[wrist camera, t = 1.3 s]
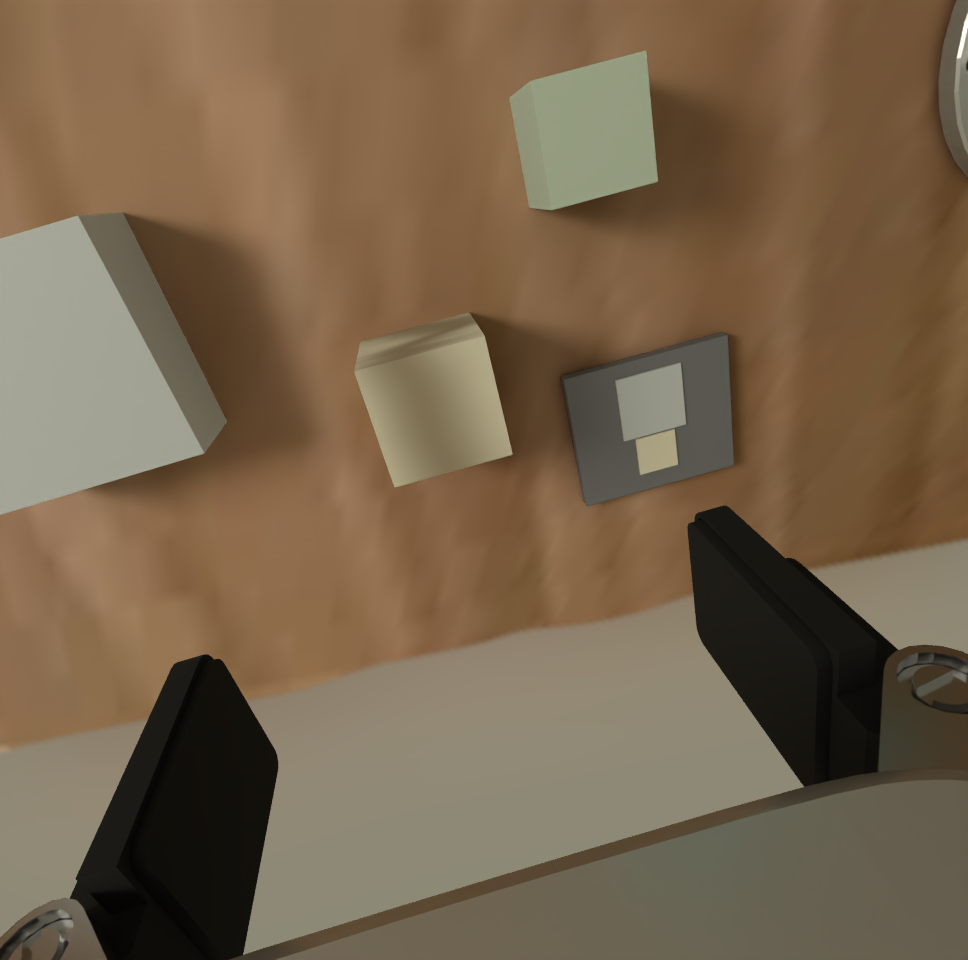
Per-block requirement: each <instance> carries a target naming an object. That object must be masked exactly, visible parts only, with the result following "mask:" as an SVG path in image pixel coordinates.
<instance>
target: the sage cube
mask: <svg viewBox="0 0 968 960" xmlns="http://www.w3.org/2000/svg"><path fill="white" fill-rule="evenodd" d="M509 99H510V104H511V110H512V115H513V121H514V126H515V132H516V137H517V143H518V148H519V153H520V159H521V164H522V170H523V175H524V181H525V186H526V192H527V197H528V203H529V208H536V209H545V210H555V209H558V208H562V207H566V206H570V205H573V204H577V203H581V202H584V201H588V200H592V199H596V198H599V197H603V196H607V195H610V194H614V193H618V192H622V191H625V190H629V189H633V188H636V187H640V186H644V185H647V184H651V183H655V182H658V176H657V165H656V154H655V143H654V132H653V121H652V110H651V99H650V88H649V77H648V66H647V55H646V51H642V52H638V53H635V54H631V55H627V56H623V57H620V58H616V59H612V60H608V61H604V62H601V63H597V64H593V65H589V66H586V67H582V68H578V69H574V70H570V71H567V72H563V73H559V74H555V75H552V76H548V77H544V78H540V79H536V80H533V81H530V82H529V83H527V84H526V85H525V86H524V87H522V88H521V89H520V90H519V91H517V92H516V93H515V94H514V95H512V96H511V97H510V98H509Z"/></svg>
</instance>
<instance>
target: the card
mask: <svg viewBox="0 0 968 960" xmlns="http://www.w3.org/2000/svg"><path fill="white" fill-rule="evenodd" d="M561 381H562V387H563V392H564V398H565V403H566V408H567V414H568V419H569V425H570V430H571V436H572V441H573V447H574V452H575V458H576V463H577V469H578V474H579V479H580V485H581V490H582V496H583V501H584V503H585V504H586V506H590V505H593V504H597V503H600V502H604V501H608V500H611V499H615V498H618V497H622V496H625V495H629V494H633V493H636V492H640V491H643V490H647V489H650V488H654V487H658V486H661V485H665V484H668V483H672V482H675V481H679V480H683V479H686V478H690V477H693V476H697V475H700V474H704V473H708V472H711V471H715V470H718V469H722V468H725V467H729V466H733V465H734V458H733V437H732V416H731V395H730V373H729V352H728V335H727V334H725V333H722V332H720V333H716V334H713V335H709V336H705V337H702V338H698V339H695V340H691V341H687V342H684V343H680V344H676V345H673V346H669V347H666V348H662V349H658V350H655V351H651V352H647V353H644V354H640V355H636V356H633V357H629V358H626V359H622V360H618V361H615V362H611V363H607V364H604V365H600V366H596V367H593V368H589V369H586V370H582V371H578V372H575V373H571V374H567V375H564V376H561Z"/></svg>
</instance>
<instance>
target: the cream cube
mask: <svg viewBox="0 0 968 960" xmlns="http://www.w3.org/2000/svg"><path fill="white" fill-rule="evenodd" d="M354 372H355V375H356V378H357V381H358V384H359V387H360V390H361V392H362V395H363V398H364V401H365V404H366V407H367V410H368V413H369V415H370V418H371V421H372V424H373V427H374V430H375V433H376V436H377V438H378V441H379V444H380V447H381V450H382V453H383V456H384V458H385V461H386V464H387V467H388V470H389V473H390V476H391V479H392V481H393V484H394V487H398V486H402V485H405V484H409V483H412V482H416V481H420V480H423V479H427V478H430V477H434V476H438V475H441V474H445V473H448V472H452V471H456V470H459V469H463V468H466V467H470V466H474V465H477V464H481V463H484V462H488V461H492V460H495V459H499V458H502V457H506V456H510V455H513V454H512V449H511V445H510V441H509V437H508V432H507V428H506V424H505V420H504V416H503V411H502V407H501V403H500V399H499V394H498V390H497V386H496V382H495V378H494V373H493V369H492V365H491V361H490V357H489V352H488V348H487V344H486V340H485V336H484V334H483V333H482V331H481V330H480V328H479V326H478V325H477V323H476V322H475V320H474V319H473V317H472V316H471V314H470V313H469V312H468V313H465V314H461V315H457V316H454V317H450V318H446V319H443V320H439V321H435V322H432V323H428V324H424V325H421V326H417V327H413V328H409V329H406V330H402V331H398V332H395V333H391V334H387V335H384V336H380V337H376V338H373V339H369V340H365V341H362V342H360V346H359V351H358V356H357V361H356V365H355V370H354Z"/></svg>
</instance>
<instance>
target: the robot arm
mask: <svg viewBox="0 0 968 960" xmlns="http://www.w3.org/2000/svg"><path fill="white" fill-rule="evenodd" d="M938 82H939V113H940V118H941V123H942V128H943V133H944V138H945V140H946V143H947V145H948V147H949V150H950V152H951V154H952V156H953V159H954V161H955V162H956V164H957V165H958V166H959V168H960V169H961V170H962V171H963V173H964V174H965V175H966V176H967V178H968V0H956V3H955V5H954V8H953V11H952V15H951V18H950V22H949V25H948V29H947V33H946V36H945V40H944V43H943V49H942V57H941V64H940V72H939V79H938ZM688 539H689V550H690V561H691V571H692V582H693V593H694V604H695V614H696V625H697V630H698V634H699V636H700V639H701V641H702V643H703V644H704V646H705V647H706V649H707V650H708V652H709V653H710V655H711V656H712V657H713V659H714V660H715V662H716V663H717V664H718V666H719V667H720V668H721V670H722V672H723V673H724V674H725V676H726V677H727V679H728V680H729V681H730V683H731V684H732V686H733V687H734V688H735V690H736V691H737V693H738V694H739V696H740V697H741V698H742V699H743V701H744V702H745V704H746V705H747V707H748V708H749V710H750V711H751V712H752V714H753V715H754V717H755V718H756V720H757V721H758V722H759V724H760V725H761V727H762V728H763V729H764V731H765V732H766V734H767V735H768V736H769V738H770V739H771V741H772V742H773V744H774V745H775V746H776V748H777V749H778V751H779V752H780V753H781V755H782V756H783V758H784V759H785V761H786V762H787V763H788V765H789V766H790V768H791V769H792V770H793V772H794V773H795V775H796V776H797V777H798V779H799V780H800V782H801V783H802V784H803V785H804V787H803V788H799V789H796V790H792V791H788V792H785V793H781V794H778V795H774V796H770V797H767V798H763V799H759V800H756V801H752V802H749V803H745V804H741V805H738V806H734V807H731V808H727V809H723V810H720V811H716V812H713V813H710V814H706V815H703V816H700V817H696V818H693V819H689V820H686V821H683V822H679V823H676V824H672V825H669V826H666V827H663V828H659V829H656V830H652V831H649V832H645V833H642V834H639V835H635V836H632V837H628V838H625V839H622V840H618V841H615V842H612V843H608V844H605V845H601V846H598V847H595V848H591V849H588V850H585V851H581V852H578V853H574V854H571V855H568V856H564V857H561V858H558V859H555V860H551V861H548V862H545V863H541V864H538V865H535V866H531V867H528V868H525V869H521V870H518V871H515V872H512V873H508V874H505V875H501V876H498V877H495V878H492V879H488V880H485V881H482V882H478V883H475V884H472V885H468V886H465V887H462V888H459V889H455V890H452V891H449V892H445V893H442V894H439V895H436V896H432V897H429V898H425V899H422V900H419V901H416V902H412V903H409V904H406V905H403V906H399V907H396V908H393V909H390V910H386V911H383V912H380V913H377V914H373V915H370V916H367V917H364V918H360V919H358V920H354V921H351V922H348V923H344V924H341V925H338V926H334V927H332V928H328V929H325V930H321V931H318V932H315V933H312V934H308V935H305V936H302V937H299V938H295V939H292V940H289V941H286V942H283V943H280V944H276V945H273V946H270V947H266V948H263V949H260V950H257V951H254V952H251V953H248V954H245V955H243V952H244V947H245V941H246V937H247V931H248V926H249V920H250V915H251V910H252V905H253V900H254V894H255V889H256V884H257V878H258V873H259V868H260V862H261V857H262V852H263V847H264V841H265V836H266V831H267V825H268V820H269V815H270V809H271V804H272V799H273V794H274V788H275V783H276V778H277V772H278V758H277V754H276V751H275V749H274V747H273V746H272V744H271V742H270V741H269V739H268V737H267V735H266V734H265V732H264V730H263V729H262V727H261V725H260V723H259V722H258V720H257V718H256V717H255V715H254V713H253V712H252V710H251V708H250V706H249V705H248V703H247V701H246V700H245V698H244V696H243V695H242V693H241V691H240V689H239V688H238V686H237V684H236V683H235V681H234V679H233V678H232V676H231V674H230V672H229V671H228V669H227V667H226V666H225V664H224V663H223V661H222V660H220V659H215V660H214V659H213V658H212V657H211V656H209V655H201V656H198V657H194V658H191V659H187V660H184V661H180V662H177V663H176V664H174V665H173V667H172V668H171V670H170V673H169V675H168V677H167V679H166V681H165V684H164V686H163V688H162V690H161V692H160V694H159V697H158V699H157V701H156V703H155V705H154V708H153V710H152V712H151V714H150V716H149V719H148V721H147V723H146V725H145V727H144V730H143V732H142V734H141V736H140V738H139V741H138V743H137V745H136V747H135V749H134V752H133V754H132V756H131V758H130V760H129V763H128V765H127V767H126V769H125V772H124V774H123V776H122V778H121V780H120V782H119V785H118V787H117V789H116V791H115V793H114V796H113V798H112V800H111V802H110V804H109V807H108V809H107V811H106V813H105V815H104V817H103V820H102V822H101V824H100V826H99V828H98V831H97V833H96V835H95V837H94V840H93V842H92V844H91V846H90V848H89V851H88V853H87V855H86V857H85V859H84V862H83V864H82V866H81V868H80V870H79V872H78V875H77V877H76V880H77V883H76V886H75V888H74V890H73V892H72V895H71V897H70V899H68V898H62V899H58V900H53V901H50V902H48V903H46V904H44V905H42V906H40V907H38V908H36V909H34V910H32V911H31V912H30V913H28V914H27V915H25V916H24V917H23V918H21V919H20V920H19V921H17V922H16V923H15V924H14V925H13V926H12V927H11V928H10V929H9V930H8V931H7V932H6V933H5V934H4V935H3V936H1V937H0V960H968V654H966V653H964V652H962V651H958V650H955V649H951V648H947V647H943V646H933V645H918V646H908V647H906V648H903V649H901V650H898V649H897V648H896V647H894V646H893V645H892V644H891V643H890V642H889V641H888V640H887V639H885V638H884V637H883V636H882V635H881V634H880V633H879V632H877V631H876V630H875V629H874V628H873V627H872V626H871V625H870V624H868V623H867V622H866V621H865V620H864V619H863V618H862V617H861V616H859V615H858V614H857V613H856V612H855V611H854V610H852V609H851V608H850V607H849V606H848V605H847V604H846V603H845V602H844V601H842V600H841V599H840V598H839V597H838V596H837V595H836V594H834V593H833V592H832V591H831V590H830V589H829V588H828V587H827V586H825V585H824V584H823V583H822V582H821V581H820V580H819V579H818V578H817V577H815V576H814V575H813V574H812V573H811V572H810V571H809V570H807V569H806V568H805V567H804V566H803V565H802V564H801V563H799V562H798V561H796V560H795V559H792V558H786V559H785V558H784V557H783V556H782V555H781V554H780V553H779V552H778V551H777V550H775V549H774V548H773V547H772V546H771V545H770V544H769V543H768V542H767V541H766V540H764V539H763V538H762V537H761V536H760V535H759V534H758V533H757V532H756V531H754V530H753V529H752V528H751V527H750V526H749V525H748V524H747V523H746V522H745V521H743V520H742V519H741V518H740V517H739V516H738V515H737V514H736V513H735V512H734V511H732V510H731V509H730V508H729V507H727V506H720V507H717V508H713V509H710V510H706V511H703V512H700V513H697V514H696V515H695V522H692V523H689V524H688Z"/></svg>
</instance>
